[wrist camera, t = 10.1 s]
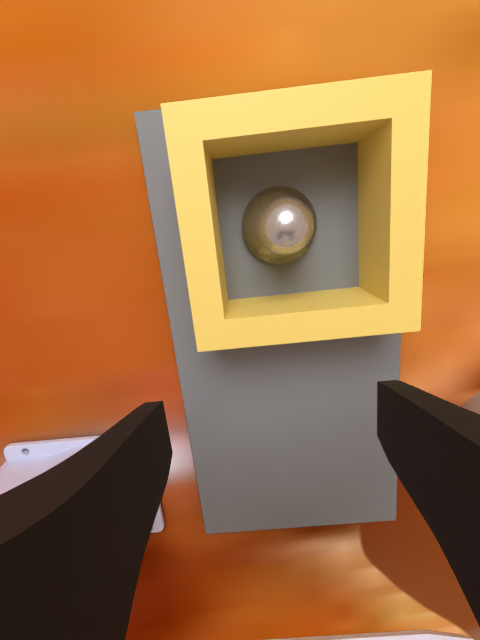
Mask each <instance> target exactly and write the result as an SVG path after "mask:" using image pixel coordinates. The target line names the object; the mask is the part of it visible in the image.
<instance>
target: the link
mask: <svg viewBox="0 0 480 640" xmlns="http://www.w3.org/2000/svg"><path fill="white" fill-rule="evenodd" d="M431 77H432V70H427V71H419V72H411V73H403V74H395V75H387V76H379V77H371V78H363V79H355V80H347V81H339V82H331V83H323V84H315V85H307V86H298V87H290V88H282V89H274V90H266V91H258V92H250V93H242V94H234V95H226V96H218V97H210V98H202V99H194V100H186V101H178V102H170V103H162V104H161V111H162V118H163V124H164V131H165V138H166V144H167V151H168V158H169V164H170V171H171V178H172V185H173V191H174V198H175V205H176V211H177V218H178V225H179V231H180V238H181V245H182V251H183V258H184V265H185V271H186V278H187V285H188V292H189V298H190V305H191V312H192V318H193V325H194V332H195V338H196V345H197V352H203V351H214V350H224V349H235V348H245V347H256V346H266V345H277V344H287V343H298V342H308V341H319V340H330V339H340V338H351V337H361V336H372V335H382V334H393V333H403V332H414V331H420V329H421V306H422V283H423V260H424V237H425V214H426V191H427V168H428V145H429V123H430V100H431ZM356 142H358V248H359V287H352V288H342V289H332V290H322V291H312V292H302V293H292V294H282V295H272V296H262V297H252V298H242V299H232V300H228V292H227V284H226V275H225V267H224V258H223V250H222V241H221V232H220V224H219V215H218V207H217V198H216V190H215V181H214V173H213V164H212V159H220V158H228V157H237V156H245V155H254V154H262V153H271V152H279V151H288V150H296V149H305V148H313V147H322V146H330V145H339V144H347V143H356Z"/></svg>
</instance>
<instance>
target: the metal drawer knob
mask: <svg viewBox="0 0 480 640" xmlns="http://www.w3.org/2000/svg"><path fill="white" fill-rule="evenodd" d="M316 228H317V220H316V214H315V211H314V208H313V206H312V204H311V202H310V201H309V200H308V198H307V197H306V196H305V195H304V194H302V193H301V192H300V191H298V190H296V189H294V188H291V187H287V186H274V187H270V188H267V189H264V190H262V191H261V192H259V193H258V194H257V195H255V196H254V197H253V198H252V199H251V201H250V202H249V203H248V205H247V207H246V209H245V211H244V214H243V218H242V235H243V238H244V241H245V243H246V245H247V247H248V248H249V250H250V251H251V252H252V253H253V254H254V255H255V256H256V257H258V258H259V259H261V260H263V261H266V262H269V263H274V264H282V263H287V262H291V261H293V260H295V259H297V258H298V257H300V256H301V255H302V254H304V253H305V252H306V251H307V249H308V248H309V247H310V245H311V243H312V242H313V239H314V237H315V233H316Z"/></svg>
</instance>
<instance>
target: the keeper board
mask: <svg viewBox="0 0 480 640" xmlns="http://www.w3.org/2000/svg"><path fill="white" fill-rule="evenodd" d="M134 115H135V121H136V127H137V133H138V139H139V145H140V151H141V156H142V162H143V168H144V174H145V180H146V186H147V192H148V197H149V203H150V209H151V215H152V221H153V227H154V233H155V238H156V244H157V250H158V256H159V262H160V268H161V274H162V279H163V285H164V291H165V297H166V303H167V309H168V315H169V320H170V326H171V332H172V338H173V344H174V350H175V355H176V361H177V367H178V373H179V379H180V385H181V391H182V396H183V402H184V408H185V414H186V420H187V426H188V432H189V437H190V443H191V449H192V455H193V461H194V467H195V473H196V478H197V484H198V490H199V496H200V502H201V508H202V514H203V519H204V525H205V531H206V534H216V533H229V532H243V531H256V530H269V529H283V528H296V527H310V526H323V525H336V524H350V523H362V522H375V521H376V522H377V521H390V520H396V502H397V474H396V473H395V471H394V469H393V468H392V466H391V464H390V463H389V461H388V459H387V457H386V454H385V452H384V450H383V448H382V446H381V443H380V441H379V439H378V436H377V381H388V380H398V381H400V343H401V333H393V334H382V335H372V336H361V337H351V338H340V339H330V340H319V341H308V342H298V343H287V344H277V345H266V346H256V347H245V348H235V349H224V350H214V351H203V352H197V345H196V338H195V332H194V325H193V318H192V312H191V305H190V298H189V292H188V285H187V278H186V271H185V265H184V258H183V251H182V245H181V238H180V231H179V225H178V218H177V211H176V205H175V198H174V191H173V185H172V178H171V171H170V164H169V158H168V151H167V144H166V138H165V131H164V124H163V118H162V111H161V109H157V110H149V111H141V112H134ZM212 164H213V173H214V181H215V190H216V198H217V207H218V215H219V224H220V232H221V241H222V250H223V258H224V267H225V275H226V284H227V292H228V300H232V299H242V298H252V297H262V296H272V295H282V294H292V293H302V292H312V291H322V290H332V289H342V288H352V287H359V248H358V142H356V143H347V144H339V145H330V146H322V147H313V148H305V149H296V150H288V151H279V152H271V153H262V154H254V155H245V156H237V157H228V158H220V159H212ZM274 186H287V187H291V188H294V189H296V190H298V191H300V192H301V193H302V194H304V195H305V196H306V197H307V198H308V200H309V201H310V202H311V204H312V206H313V208H314V211H315V214H316V220H317V228H316V233H315V237H314V239H313V242H312V243H311V245H310V247H309V248H308V249H307V251H306V252H305V253H304V254H302V255H301V256H300V257H298V258H297V259H295V260H293V261H291V262H287V263H282V264H274V263H269V262H266V261H263V260H261V259H259V258H258V257H256V256H255V255H254V254H253V253H252V252H251V251H250V250H249V248H248V247H247V245H246V243H245V241H244V238H243V235H242V218H243V214H244V211H245V209H246V207H247V205H248V203H249V202H250V201H251V199H252V198H253V197H254V196H255V195H257V194H258V193H259V192H261V191H262V190H264V189H267V188H270V187H274Z"/></svg>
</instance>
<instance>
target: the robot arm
mask: <svg viewBox="0 0 480 640" xmlns="http://www.w3.org/2000/svg"><path fill="white" fill-rule="evenodd" d="M377 436H378V439H379V441H380V443H381V446H382V448H383V450H384V452H385V454H386V457H387V459H388V461H389V463H390V464H391V466H392V468H393V469H394V471H395V473H396V474H397V476H398V477H399V479H400V481H401V482H402V484H403V486H404V487H405V489H406V490H407V492H408V493H409V495H410V496H411V498H412V500H413V501H414V503H415V505H416V506H417V508H418V509H419V511H420V512H421V514H422V516H423V517H424V519H425V520H426V522H427V524H428V525H429V527H430V529H431V530H432V532H433V533H434V535H435V537H436V539H437V541H438V542H439V544H440V546H441V548H442V550H443V552H444V554H445V556H446V558H447V560H448V562H449V564H450V566H451V568H452V570H453V572H454V574H455V576H456V578H457V580H458V582H459V584H460V586H461V588H462V590H463V593H464V595H465V597H466V599H467V601H468V603H469V605H470V607H471V609H472V611H473V613H474V615H475V618H476V620H477V622H478V624H479V626H480V415H479V414H477V413H474V412H472V411H469V410H467V409H464V408H462V407H459V406H457V405H455V404H452V403H450V402H448V401H445V400H443V399H441V398H439V397H436V396H434V395H432V394H430V393H427V392H425V391H423V390H421V389H418V388H416V387H414V386H411V385H409V384H407V383H404V382H401V381H398V380H388V381H377ZM25 448H26V449H28V450H29V451H27V450H26V449H25ZM172 453H173V452H172V447H171V442H170V437H169V431H168V426H167V421H166V416H165V410H164V405H163V401H157V402H146V403H144V404H142V405H140V406H139V407H138V408H136V409H135V410H133V411H132V412H131V413H130V414H128V415H127V416H126V417H124V418H123V419H122V420H120V421H119V422H118V423H117V424H115V425H114V426H113V427H111V428H110V429H109V430H107V431H106V432H105V433H103V434H102V435H100V436H89V437H77V438H66V439H54V440H43V441H32V442H20V443H11V444H9V445H8V446H7V447H5V448H4V455H5V458H6V462H5V463H4V464H3V465H2V466H1V467H0V640H125V637H126V632H127V627H128V622H129V618H130V613H131V608H132V603H133V598H134V594H135V589H136V585H137V580H138V576H139V571H140V567H141V563H142V559H143V556H144V552H145V548H146V545H147V542H148V539H149V536H150V533H155V532H161V531H162V530H163V528H164V525H165V522H164V517H163V513H162V508H161V503H160V502H161V499H162V496H163V493H164V490H165V487H166V483H167V480H168V475H169V470H170V464H171V458H172ZM266 640H474V639H471V638H469V637H467V636H465V635H461V634H454V633H446V632H438V631H430V630H412V631H396V632H380V633H364V634H348V635H331V636H315V637H299V638H283V639H266Z"/></svg>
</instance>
